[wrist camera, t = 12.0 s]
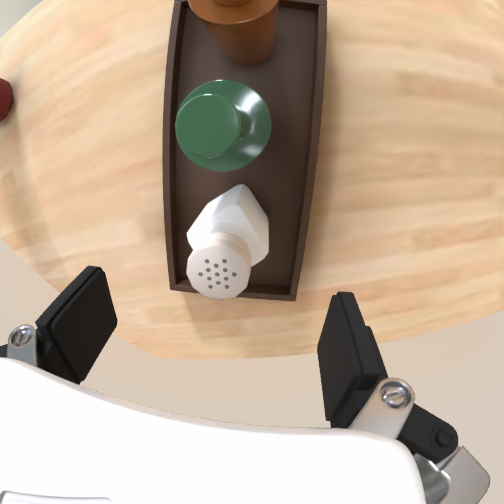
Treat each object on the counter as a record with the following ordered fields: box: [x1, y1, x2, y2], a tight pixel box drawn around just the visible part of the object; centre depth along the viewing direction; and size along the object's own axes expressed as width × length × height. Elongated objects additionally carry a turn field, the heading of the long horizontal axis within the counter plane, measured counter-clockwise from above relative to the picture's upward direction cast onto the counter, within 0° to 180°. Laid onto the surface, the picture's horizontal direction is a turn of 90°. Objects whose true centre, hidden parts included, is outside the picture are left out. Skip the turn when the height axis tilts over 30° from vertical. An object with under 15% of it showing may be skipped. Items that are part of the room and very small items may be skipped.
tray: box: [163, 0, 327, 301], centre depth 19 cm, size 25×11×2 cm, turn 176°
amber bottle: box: [188, 0, 280, 65], centre depth 10 cm, size 4×4×12 cm
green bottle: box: [175, 80, 271, 172], centre depth 13 cm, size 4×4×12 cm
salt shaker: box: [186, 184, 269, 300], centre depth 18 cm, size 4×4×10 cm
